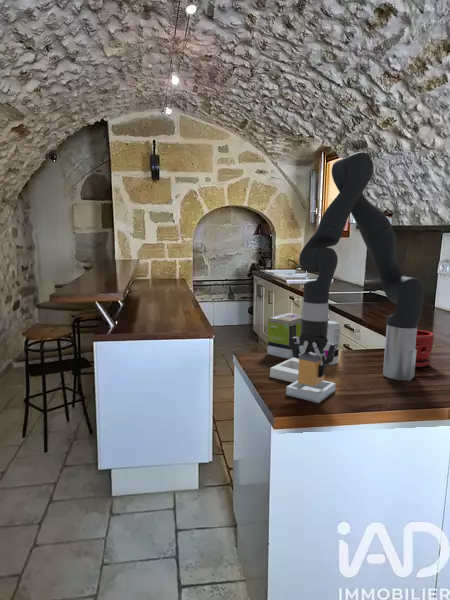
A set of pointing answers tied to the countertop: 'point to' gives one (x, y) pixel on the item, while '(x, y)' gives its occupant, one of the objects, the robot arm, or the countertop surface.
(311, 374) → the orange grey block
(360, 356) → the countertop surface
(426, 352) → the plant pot
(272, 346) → the tea box
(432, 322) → the countertop surface
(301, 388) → the tray
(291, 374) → the bay
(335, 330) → the supplement can
